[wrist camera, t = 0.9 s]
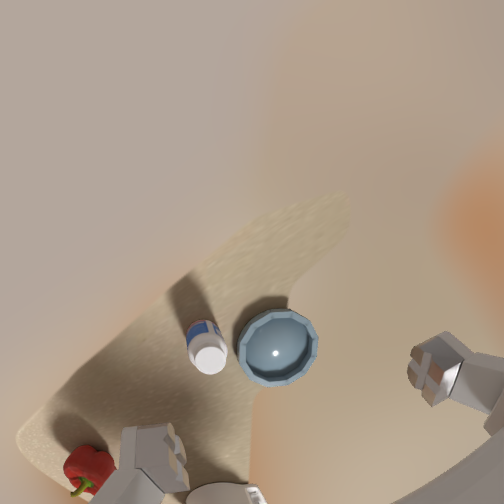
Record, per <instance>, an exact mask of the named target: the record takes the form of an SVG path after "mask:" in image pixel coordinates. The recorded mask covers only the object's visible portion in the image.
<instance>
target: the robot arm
mask: <svg viewBox="0 0 504 504" xmlns="http://www.w3.org/2000/svg"><path fill="white" fill-rule="evenodd" d="M410 356H411V357H412V360H411V361H410V363H409V364H408V369H407V374H408V379H409V381H410V382H411V384H412V385H413V386H414V388H417V389H420V390H422V397H423V398H424V399H425V400H426V401H427V403H428V404H429V405H430V406H431V407H433V406H435V405H437V404H438V403H440V402H442V401H444V400H445V399H447V398H449V399H452V400H454V401H457V402H459V403H461V404H464V405H466V406H469V407H471V408H474V409H476V410H479V411H481V412H483V413H486V414H488V415H489V416H488V418H487V420H486V421H485V423H484V428H485V430H486V431H487V432H488V433H489V434H490V435H491V436H492V437H491V438H490V439H489V440H487V441H486V442H485V443H484V444H482V445H481V446H480V447H479V448H477V449H476V450H475V451H474V452H472V453H471V454H470V455H468V456H467V457H466V458H464V459H463V460H461V461H460V462H459V463H457V464H456V465H455V466H453V467H452V468H450V469H449V470H447V471H446V472H444V473H443V474H441V475H440V476H438V477H437V478H435V479H433V480H432V481H430V482H429V483H427V484H425V485H424V486H422V487H420V488H419V489H417V490H415V491H413V492H412V493H410V494H408V495H406V496H405V497H403V498H401V499H399V500H397V501H395V502H393V503H391V504H504V358H501V357H496V356H492V355H488V354H483V353H479V352H477V353H473V352H472V351H471V350H470V349H469V348H468V347H466V346H465V345H464V344H463V343H462V342H461V341H459V340H458V339H457V338H456V337H455V336H453V335H452V334H451V333H450V332H447V331H444V332H442V333H440V334H438V335H436V336H435V337H432V338H430V339H428V340H426V341H424V342H422V343H420V344H418V345H417V346H414V347H413V349H412V350H411V354H410ZM186 462H187V460H186V453H185V449H184V446H183V443H182V441H181V439H180V437H179V436H177V435H175V432H174V427H173V426H172V424H171V423H161V424H152V425H142V426H133V427H124V428H123V430H122V433H121V445H120V458H119V470H114V471H113V473H112V474H111V475H110V477H109V478H108V479H107V480H106V482H105V483H104V484H103V485H102V487H101V488H100V489H99V491H98V492H97V493H96V494H95V496H94V497H93V498H92V499H91V501H90V502H89V503H88V504H161V502H162V500H163V498H164V496H165V494H166V493H174V492H182V491H188V490H190V485H189V477H188V473H187V471H186V470H185V468H184V465H185V464H186ZM186 504H268V503H267V501H266V499H265V498H264V496H263V494H262V493H261V491H260V489H259V487H258V485H256V484H244V485H240V484H235V483H224V482H223V483H212V484H207V485H204V486H201V487H199V488H197V489H195V490H193V491H192V492H191V493H190V494H189V495H188V497H187V499H186Z"/></svg>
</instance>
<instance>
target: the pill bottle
mask: <svg viewBox="0 0 504 504" xmlns="http://www.w3.org/2000/svg"><path fill="white" fill-rule="evenodd" d="M186 341H187V350H188V356H189V359H190V361H191V362H192V363H193V364H194V365H195V366H196V367H197V368H198V369H199V370H200V371H201V372H203V373H205V374H215V373H217V372H219V371H221V370H222V369H223V367H224V366H225V363H226V357H227V346H226V343H225V341H224V338H223V336H222V334H221V332H220V330H219V328H218V327H217V325H216V324H214V323H213V322H211V321H209V320H198V321H195V322H194V323H192V324H191V325H190V326H189V328H188V330H187V333H186Z"/></svg>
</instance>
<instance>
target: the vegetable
mask: <svg viewBox="0 0 504 504" xmlns="http://www.w3.org/2000/svg"><path fill="white" fill-rule="evenodd" d="M63 470H64V474H65V475H66V477H67V478H68V479H69V481H70V483H71V484H72V485H73V486H74V487H76V488H77V490H75V491H74V492H71V497H76V496H78V495H80V494H81V493H82V492H88V493H91V494H92V495H94V496H95V494H96V493H97V492H98V491H99V489H100V488H101V487H102V485H103V484H104V483H105V482H106V480H107V479H108V478H109V477H110V475H111V474H112V473H113V471H114V470H117V469H116V467H115V466H114V460H113V458H112V457H111V455H109V454H108V453H106V452H105V451H98V452H97V451H96V450H95V449H94V448H93V447H91V446H89V445H82V446H80V447H78V448H76V449H75V450H74V451H73V452H72V453H71V454H70V455H69V457H68V458H67V459H66V461H65V463H64V466H63Z"/></svg>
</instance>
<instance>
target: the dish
mask: <svg viewBox="0 0 504 504" xmlns="http://www.w3.org/2000/svg"><path fill="white" fill-rule="evenodd" d="M317 347H318V336H317V334H316V332H315V330H314V328H313V326H312V324H311V322H310V321H309V320H308V319H307V318H305V317H303V316H301V315H300V314H298V313H296V312H294V311H292V310H291V309H283V308H277V309H270V310H267V311H264V312H262V313H260V314H258V315H256V316H255V317H253V318H252V319H251V320H250V321H249V322H248V323H247V324H246V325H245V327H244V328H243V330H242V332H241V334H240V336H239V339H238V343H237V355H238V362H239V364H240V366H241V367H242V369H243V370H244V372H245V373H246V375H247V376H248V378H249V379H250V380H252V381H254V382H256V383H259V384H261V385H263V386H266V387H274V386H284V385H289V384H290V383H292V382H294V381H295V380H297V379H298V378H300V377H302V376H303V375H305V374H306V373H307V371H308V370H309V368H310V366H311V365H312V363H313V362H314V360H315V359H316V357H317Z"/></svg>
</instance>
